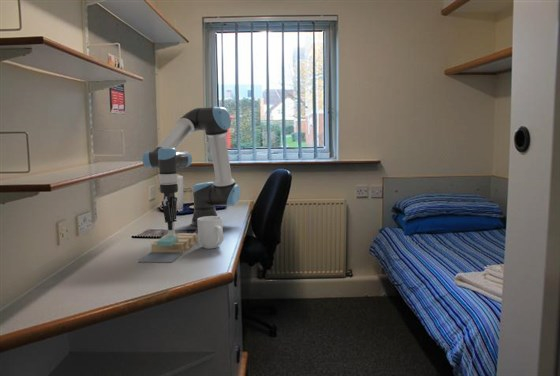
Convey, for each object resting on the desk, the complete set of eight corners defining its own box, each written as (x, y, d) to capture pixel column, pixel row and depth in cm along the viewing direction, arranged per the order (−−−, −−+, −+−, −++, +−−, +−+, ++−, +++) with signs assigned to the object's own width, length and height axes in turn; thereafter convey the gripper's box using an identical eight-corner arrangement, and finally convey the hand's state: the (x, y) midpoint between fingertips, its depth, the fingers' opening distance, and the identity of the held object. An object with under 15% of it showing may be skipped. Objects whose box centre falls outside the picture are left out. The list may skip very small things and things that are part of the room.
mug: (233, 248, 201) (232, 219, 199) (212, 253, 194) (210, 222, 192) (214, 242, 212) (213, 214, 210) (193, 247, 205) (192, 218, 203)
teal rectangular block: (165, 240, 201) (164, 236, 201) (178, 240, 200) (178, 236, 200) (157, 246, 192) (157, 241, 192) (171, 246, 192) (170, 241, 191)
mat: (151, 253, 197) (151, 252, 197) (183, 253, 195) (183, 252, 195) (138, 262, 183) (137, 261, 183) (171, 262, 181) (171, 261, 181)
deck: (168, 241, 216) (167, 233, 216) (197, 241, 215) (196, 233, 214) (151, 253, 197) (151, 244, 196) (183, 253, 195) (182, 244, 194)
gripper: (165, 182, 205) (168, 233, 208) (154, 185, 193) (157, 240, 195) (182, 181, 204) (184, 233, 207) (171, 185, 192) (174, 240, 194)
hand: (171, 236), depth 201 cm, fingers closed
